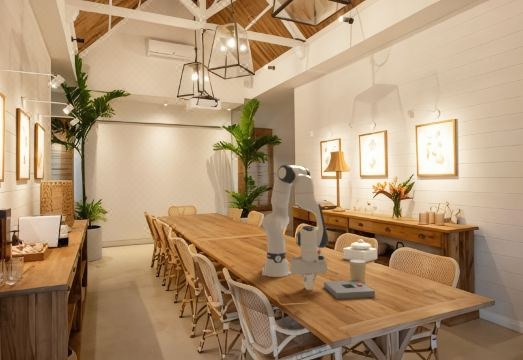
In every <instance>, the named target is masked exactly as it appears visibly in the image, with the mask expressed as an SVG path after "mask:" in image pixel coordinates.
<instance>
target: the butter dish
mask: <svg viewBox="0 0 523 360" xmlns="http://www.w3.org/2000/svg"><path fill="white" fill-rule="evenodd" d="M342 250H343V259H345V260H348V261H350V260H355V259H357V260H364V261H365V262H366V263H368V262H372V261H376V260H377V259H378V248H374V247H372V245H371V244H370V243H368V242H365V241H364V240H363V239H362V238H360V239H358V240H357V241H355V242H352V243H350V246H348V247H343V248H342Z"/></svg>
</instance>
